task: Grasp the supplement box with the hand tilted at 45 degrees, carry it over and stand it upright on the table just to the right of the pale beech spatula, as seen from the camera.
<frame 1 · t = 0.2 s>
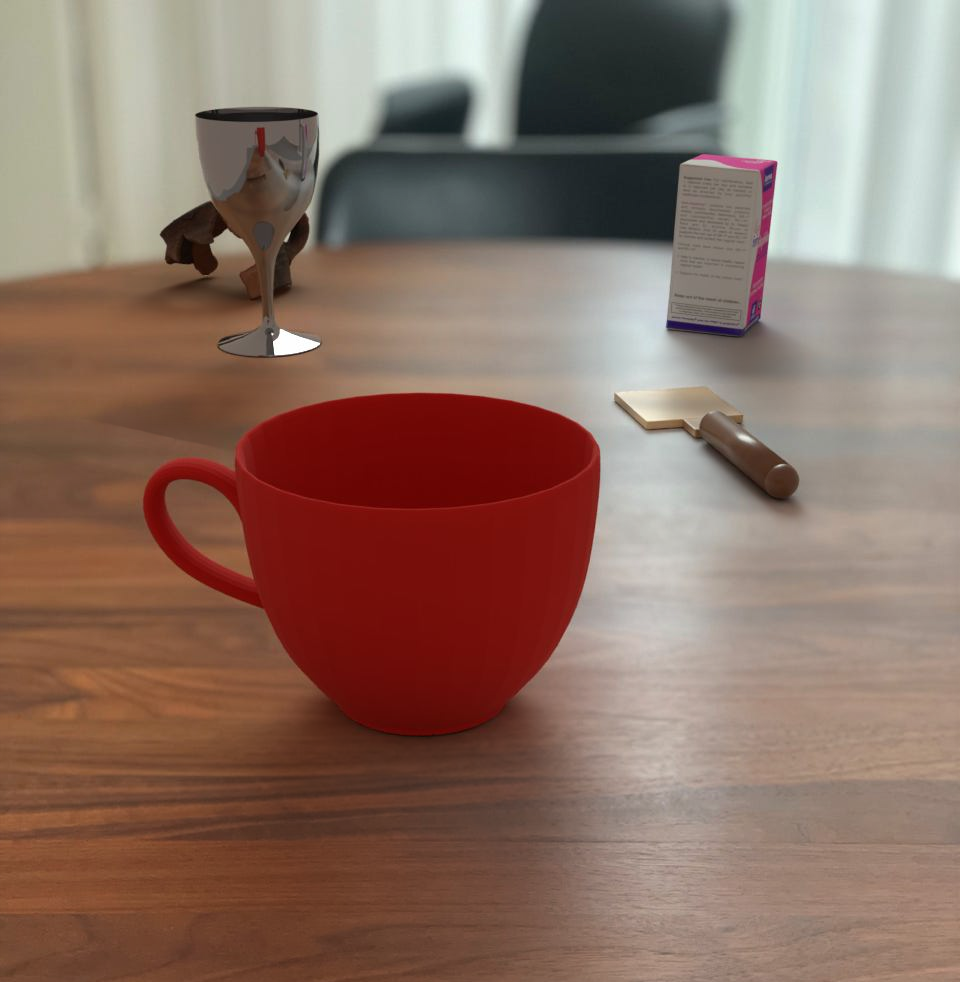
ceramic cup: (372, 694, 58), on the table
wine glass: (270, 345, 104), on the table
spatula: (714, 442, 85), on the table
supplement box: (714, 327, 109), on the table
pottery mug: (244, 287, 119), on the table
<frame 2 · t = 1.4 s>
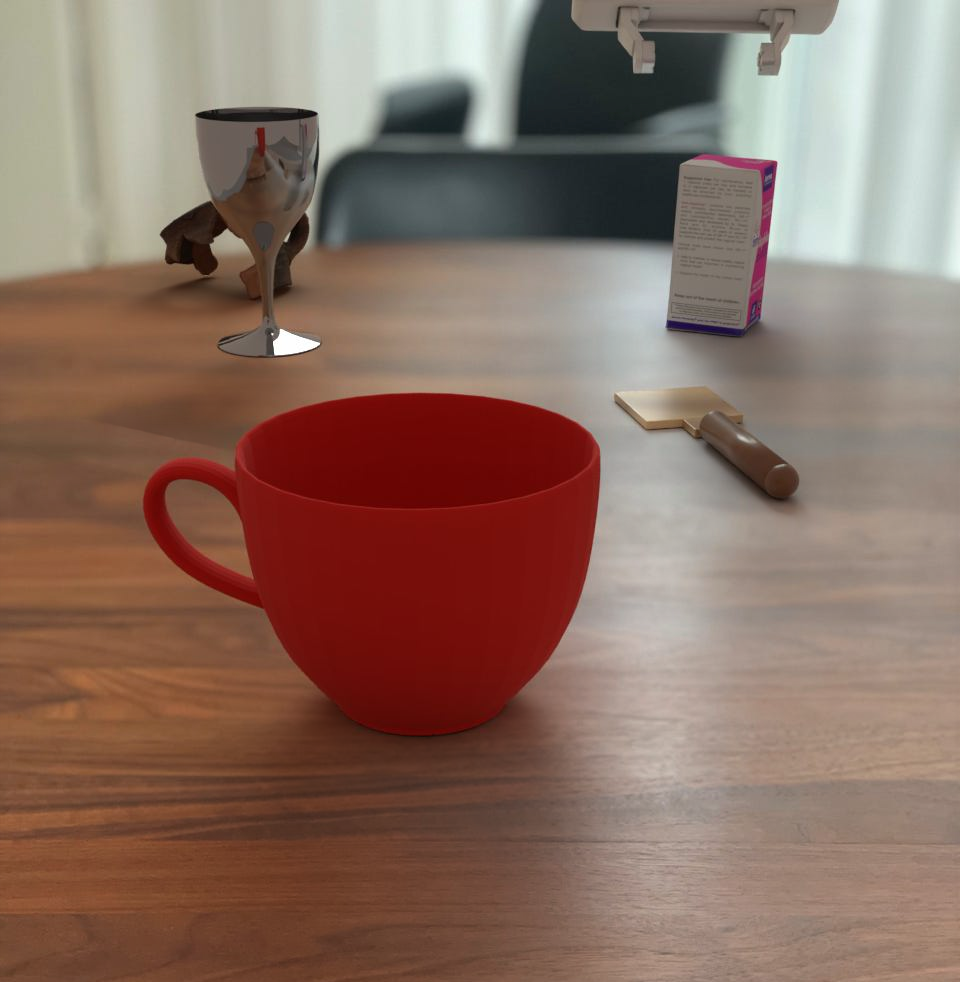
hand: (707, 69, 112), 16 cm above the table, tool tilted 45°, fingers open, 8 cm apart
nothing on the table moved.
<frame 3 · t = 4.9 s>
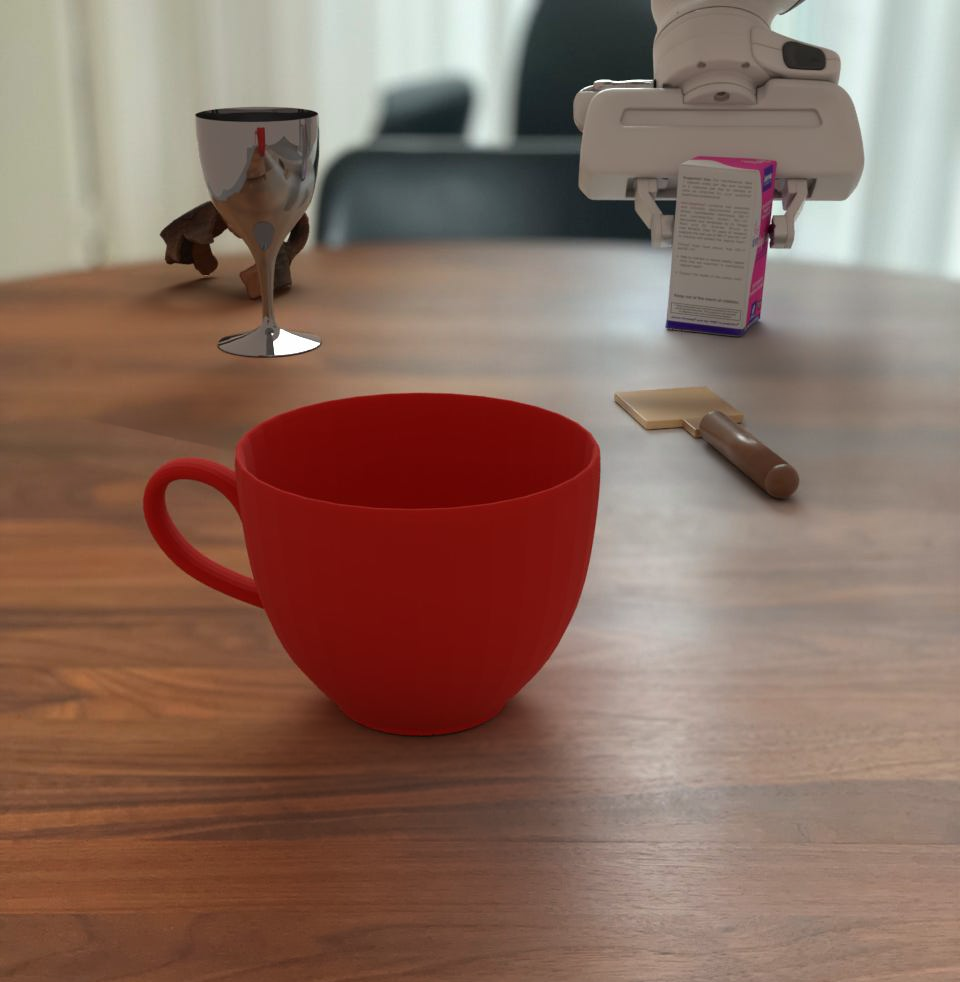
hand: (723, 244, 105), 6 cm above the table, tool tilted 45°, fingers closed on supplement box, 7 cm apart
supplement box: (714, 327, 109), on the table, touching gripper
everything else where it was.
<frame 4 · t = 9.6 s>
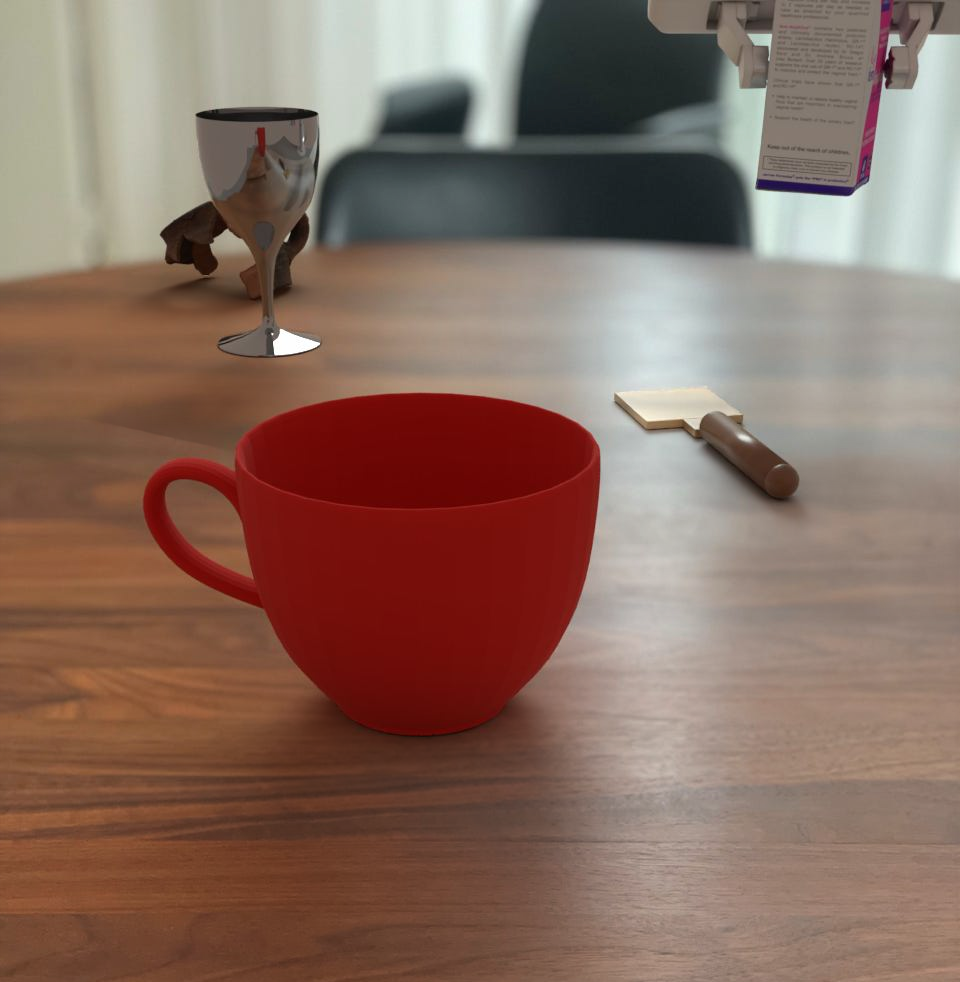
hand: (829, 82, 85), 18 cm above the table, tool tilted 45°, fingers closed on supplement box, 7 cm apart
supplement box: (814, 190, 88), point 12 cm above the table, touching gripper
everything else where it was.
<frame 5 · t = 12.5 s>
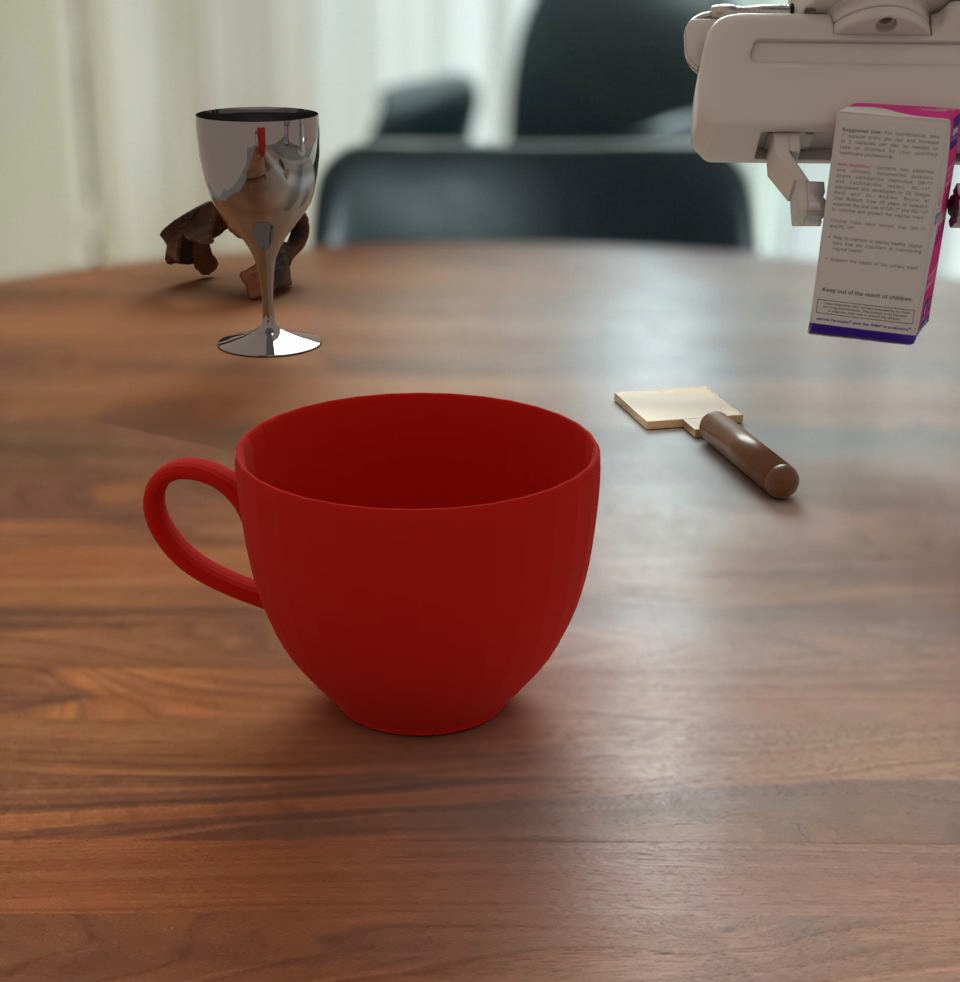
hand: (889, 221, 79), 12 cm above the table, tool tilted 45°, fingers closed on supplement box, 7 cm apart
supplement box: (870, 332, 82), point 6 cm above the table, touching gripper
everything else where it was.
when the fingers open (6 cm above the table, at t = 14.9 s): supplement box stays where it is, on the table.
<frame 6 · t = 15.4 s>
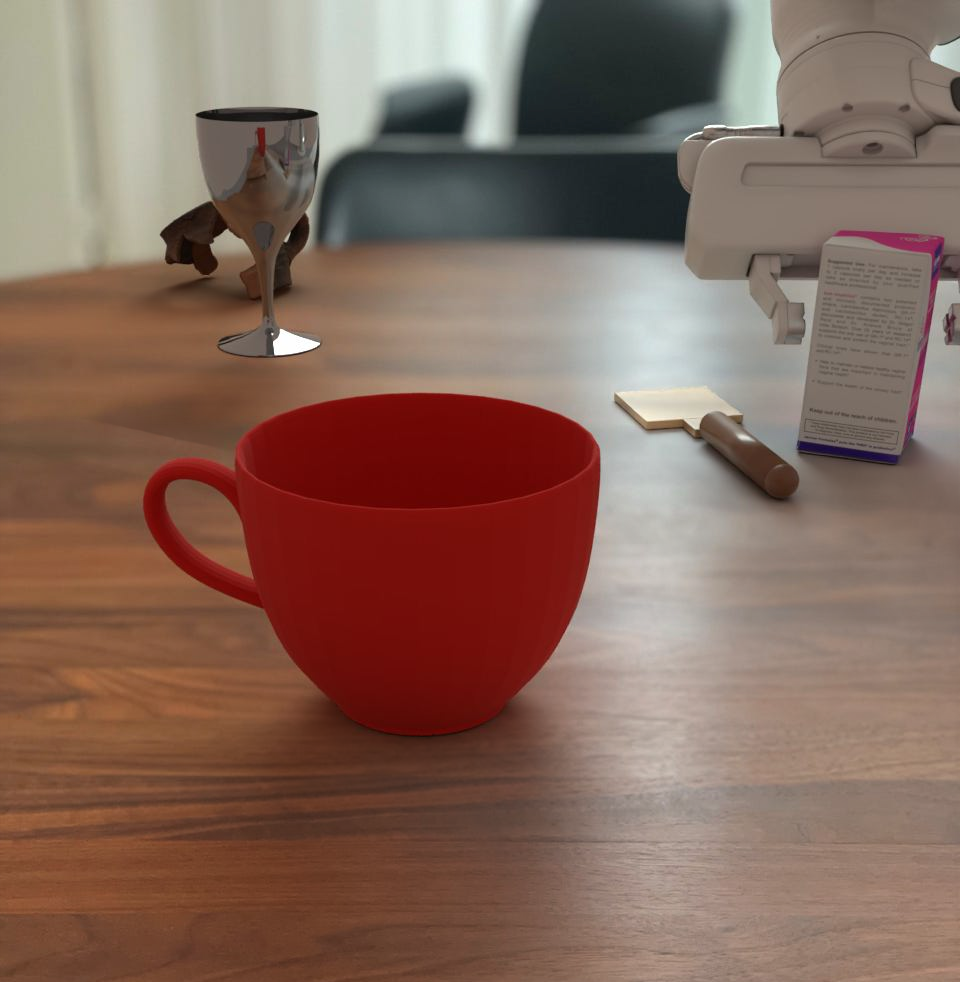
hand: (876, 340, 81), 6 cm above the table, tool tilted 45°, fingers open, 8 cm apart
supplement box: (856, 447, 85), on the table
everything else where it was.
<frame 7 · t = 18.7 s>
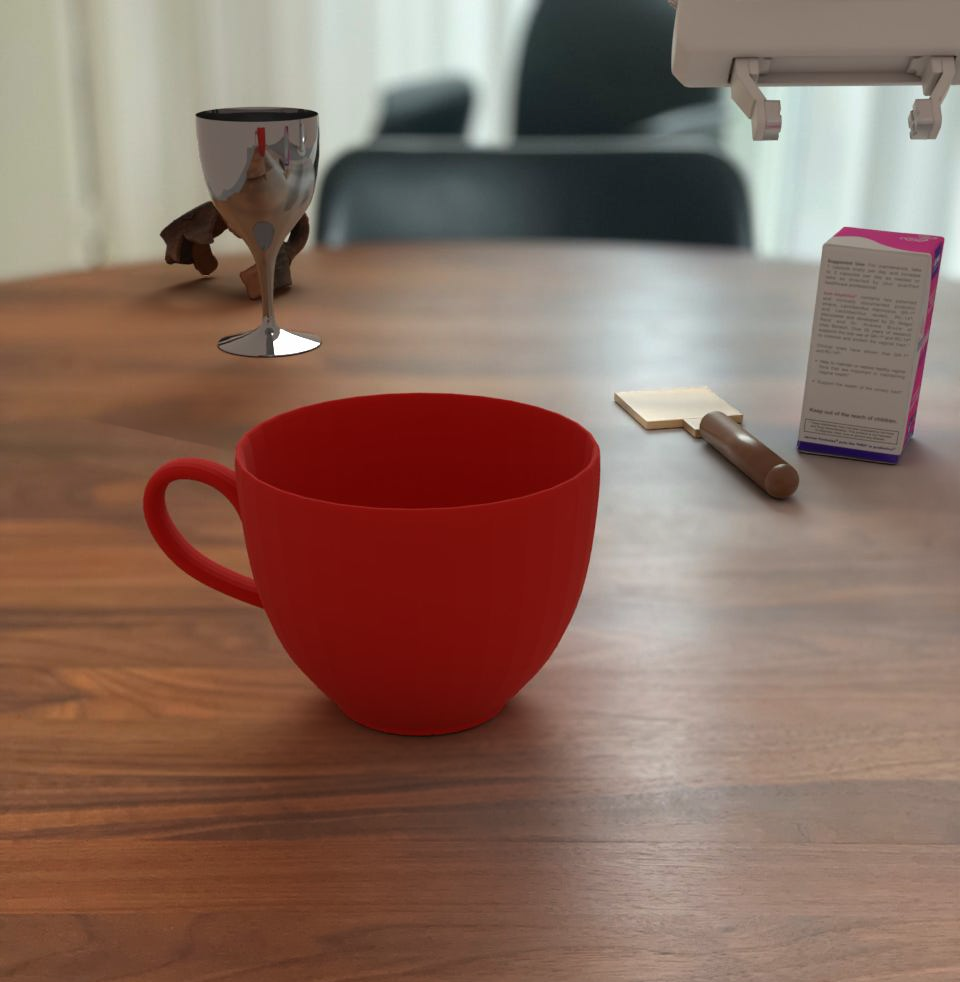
hand: (846, 134, 89), 15 cm above the table, tool tilted 45°, fingers open, 8 cm apart
nothing on the table moved.
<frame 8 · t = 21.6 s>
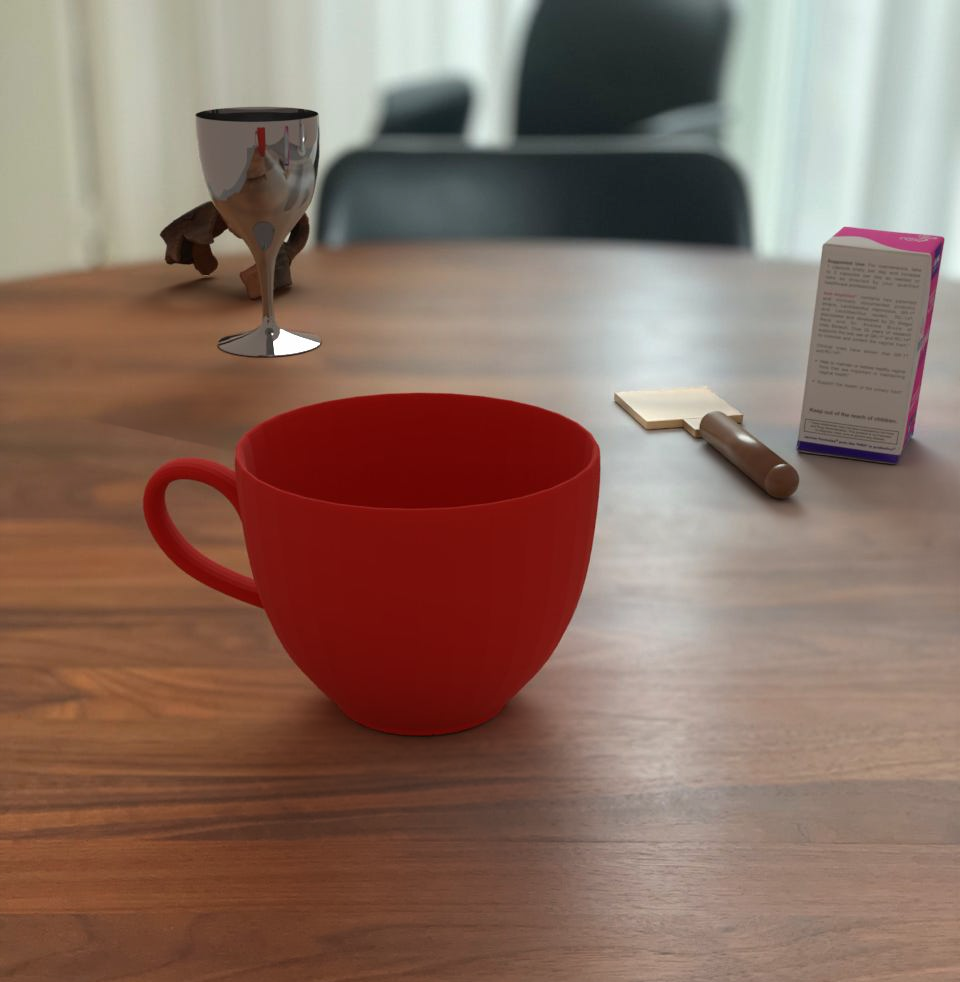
nothing on the table moved.
at the end: supplement box inside the target area on the table beside the spatula (0.8 cm from its centre), on the table; supplement box tilted 0°; the gripper is holding nothing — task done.
